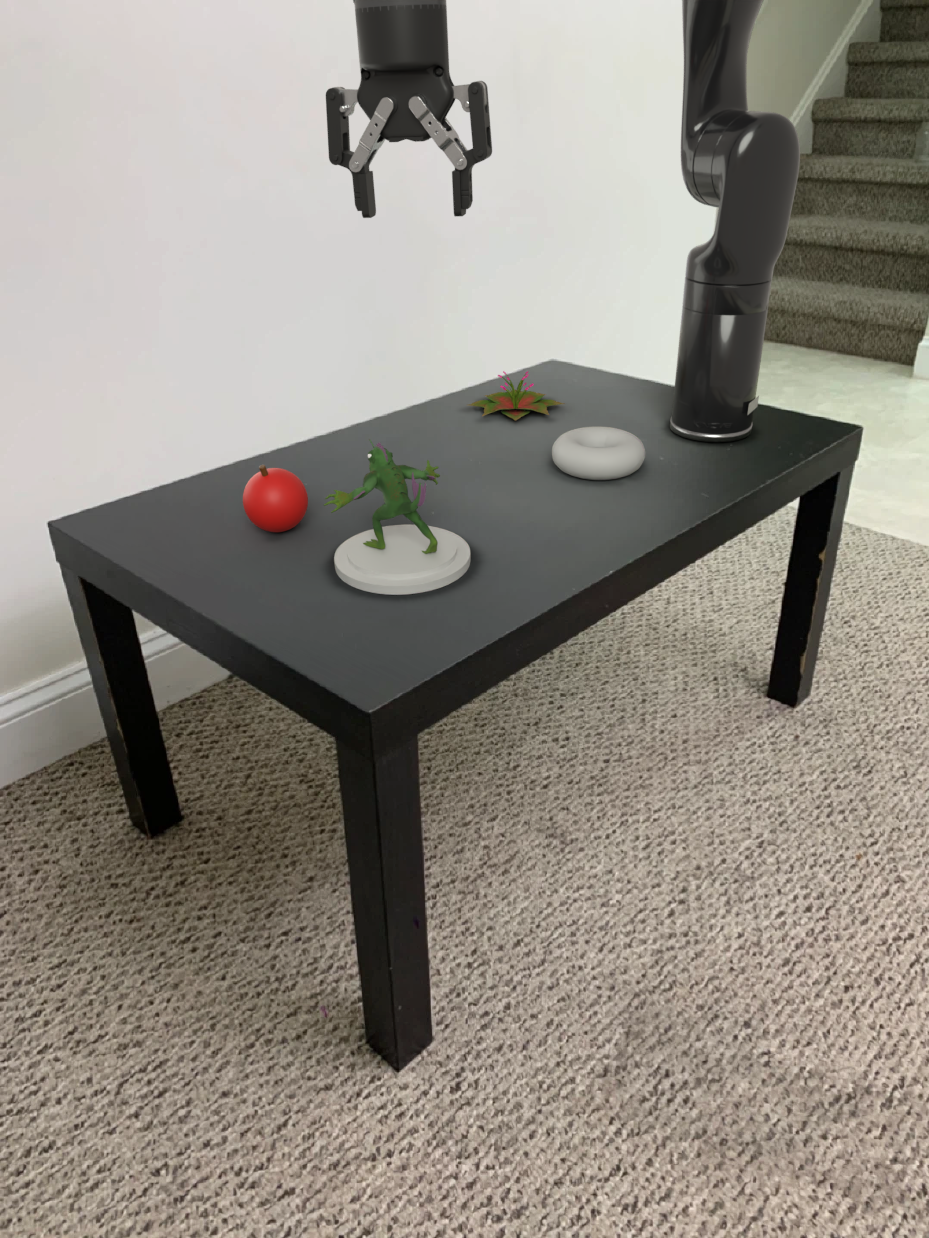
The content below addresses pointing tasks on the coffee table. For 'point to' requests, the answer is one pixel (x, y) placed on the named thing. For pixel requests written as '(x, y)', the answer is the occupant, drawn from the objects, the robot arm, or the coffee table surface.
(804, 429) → the coffee table surface
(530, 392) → the lily flower
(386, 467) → the monster figurine
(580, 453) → the donut
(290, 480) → the apple
